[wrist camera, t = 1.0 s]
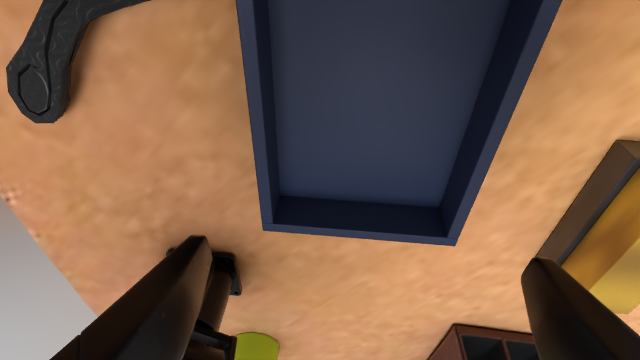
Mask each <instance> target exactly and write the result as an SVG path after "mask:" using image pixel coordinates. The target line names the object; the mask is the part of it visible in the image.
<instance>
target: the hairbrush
mask: <svg viewBox="0 0 640 360" xmlns="http://www.w3.org/2000/svg"><path fill="white" fill-rule="evenodd" d="M146 1H150V0H43V2H42V4H41V7H40V9H39V11H38V13H37V15H36V17H35V19H34V21H33V23H32V25H31V27H30V29H29V32H28V34H27V36H26V38H25V40H24V42H23V44H22V45H21V47H20V48H19V50H18V51H17V53H16V54H15V55H14V57H13V58H12V60H11V61H10V63H9V64H8V66H7V67H6V72H7V85H8V92H9V94H10V96H11V97H12V99H13V100H14V102H15V103H16V105H17V107H18V108H19V110H20V111H21V113H22V114H23V115H25V116H26V117H28V118H29V119H30V120H32V121H33V122H35V123H54V122H55V121H57V120H58V119H59V118H60V117H62V116H63V114H64V112H65V109H66V107H67V105H68V103H69V100H70V84H71V66H72V63H73V61H74V58H75V56H76V53H77V51H78V49H79V46H80V44H81V41H82V39H83V36H84V34H85V31H86V29H87V26H88V24H89V23H90V21H92V20H94V19H96V18H98V17H100V16H103V15H106V14H108V13H111V12H114V11H116V10H119V9H122V8H125V7H129V6H132V5H136V4H139V3H142V2H146ZM30 65H33V66H34V67H30V68H29V66H30ZM47 108H50V109H47Z"/></svg>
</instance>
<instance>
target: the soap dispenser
mask: <svg viewBox="0 0 640 360" xmlns="http://www.w3.org/2000/svg"><path fill="white" fill-rule="evenodd" d="M236 337H237V345H236V352H235V359H234V360H277V358H278V353H279V344H278V342H277V341H276V340H274V339H273V338H271V337H269V336H266V335H263V334H259V333H243V334H239V335H237V336H236Z"/></svg>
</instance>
